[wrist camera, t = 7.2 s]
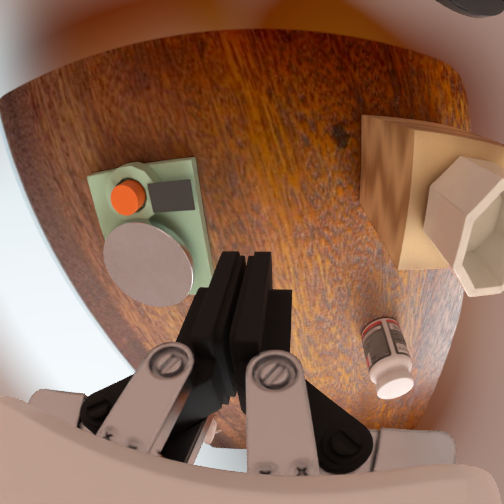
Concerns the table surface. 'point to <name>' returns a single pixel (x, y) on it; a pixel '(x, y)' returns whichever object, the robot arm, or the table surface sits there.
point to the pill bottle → (387, 358)
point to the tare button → (128, 197)
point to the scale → (180, 222)
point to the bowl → (469, 223)
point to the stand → (410, 180)
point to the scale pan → (153, 251)
